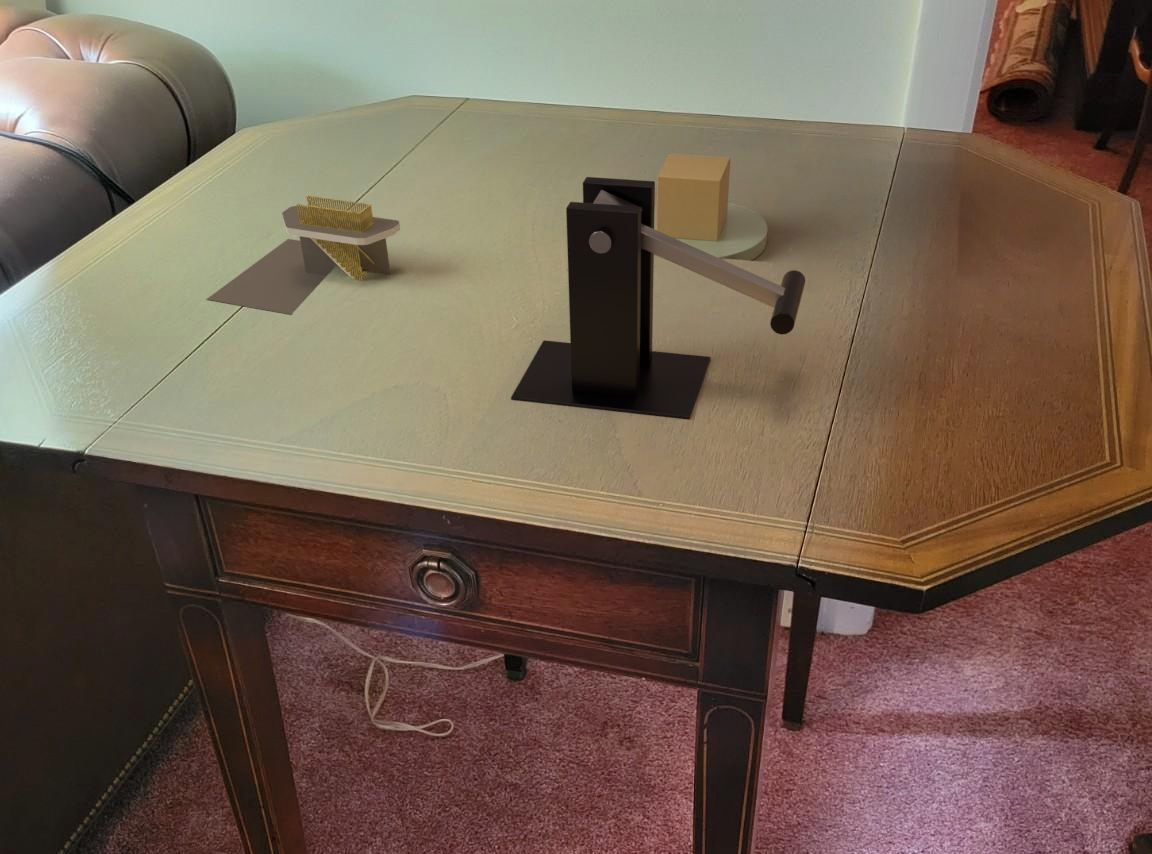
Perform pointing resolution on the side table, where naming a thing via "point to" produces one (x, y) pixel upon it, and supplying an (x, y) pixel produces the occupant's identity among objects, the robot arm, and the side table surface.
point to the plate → (734, 235)
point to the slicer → (612, 317)
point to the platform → (313, 255)
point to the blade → (724, 271)
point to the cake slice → (693, 196)
